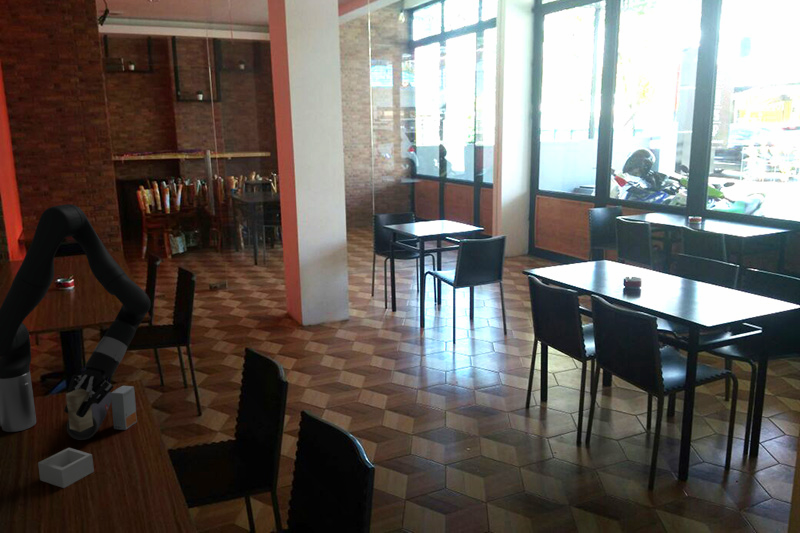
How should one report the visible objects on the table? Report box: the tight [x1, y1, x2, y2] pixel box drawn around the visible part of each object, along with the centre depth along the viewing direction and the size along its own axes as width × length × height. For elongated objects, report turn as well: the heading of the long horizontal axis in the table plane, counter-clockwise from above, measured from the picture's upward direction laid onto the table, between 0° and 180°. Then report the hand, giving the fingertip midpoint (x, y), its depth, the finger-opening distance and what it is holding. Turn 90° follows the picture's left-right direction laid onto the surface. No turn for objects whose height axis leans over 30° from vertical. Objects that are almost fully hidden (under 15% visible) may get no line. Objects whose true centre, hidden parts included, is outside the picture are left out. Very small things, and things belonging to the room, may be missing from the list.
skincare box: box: [110, 385, 138, 431], centre depth 195 cm, size 6×4×12 cm
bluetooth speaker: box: [66, 391, 112, 441], centre depth 194 cm, size 23×9×10 cm, turn 14°
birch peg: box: [65, 388, 93, 432], centre depth 169 cm, size 4×4×10 cm
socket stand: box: [37, 447, 95, 489], centre depth 167 cm, size 9×9×5 cm
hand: (73, 414), depth 167 cm, fingers closed on birch peg, 4 cm apart
